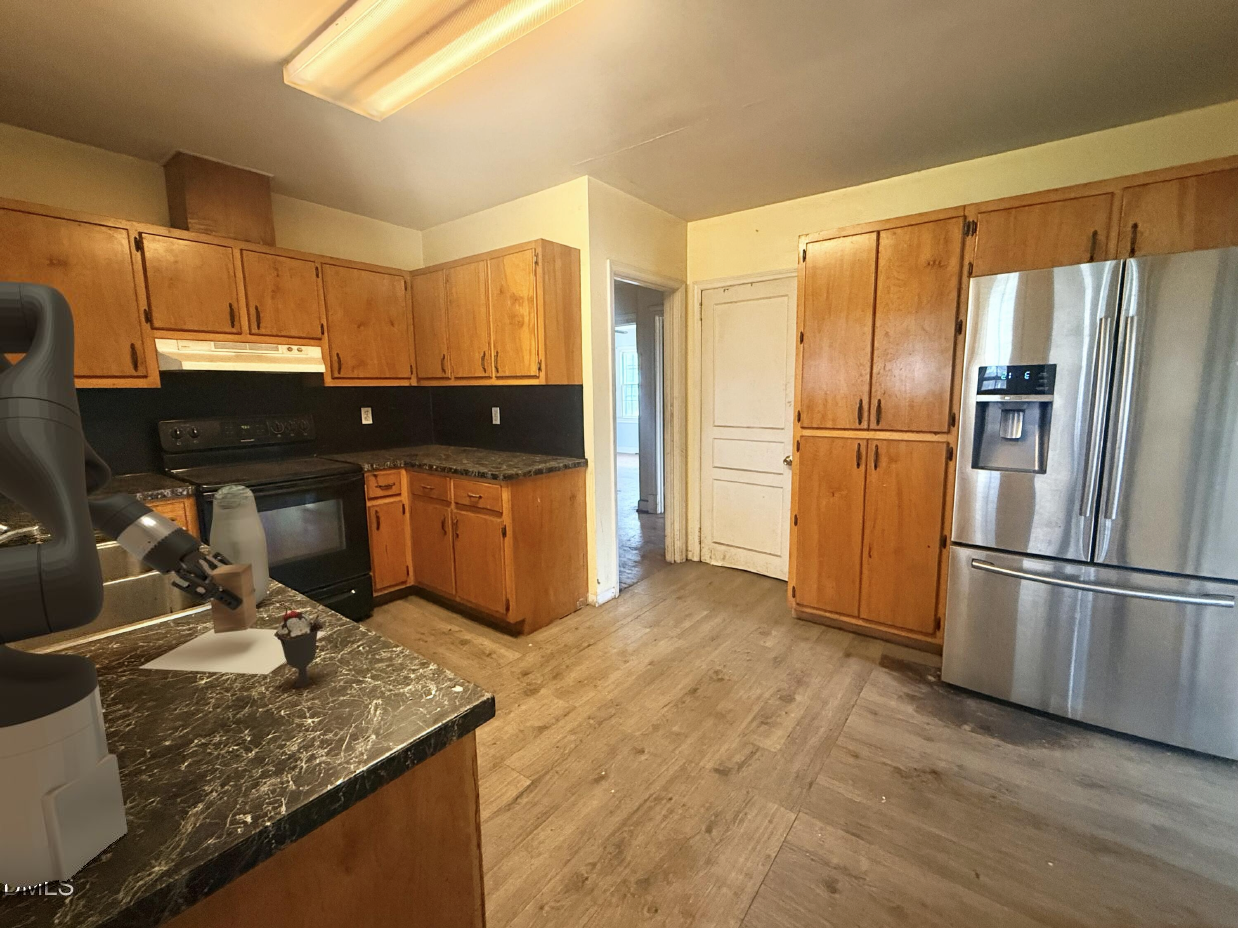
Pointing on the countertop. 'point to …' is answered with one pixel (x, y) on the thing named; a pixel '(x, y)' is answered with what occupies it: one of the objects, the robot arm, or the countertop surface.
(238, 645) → the cream sheet of paper
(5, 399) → the robot arm
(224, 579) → the walnut block
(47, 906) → the countertop surface
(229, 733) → the countertop surface
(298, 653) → the sundae
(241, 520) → the glass bottle
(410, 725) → the countertop surface
